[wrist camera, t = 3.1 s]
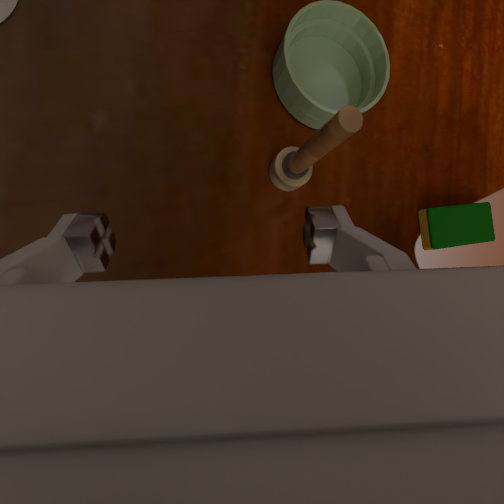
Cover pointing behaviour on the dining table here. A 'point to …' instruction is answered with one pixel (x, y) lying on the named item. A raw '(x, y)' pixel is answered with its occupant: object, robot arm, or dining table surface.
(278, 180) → the wooden dowel stand
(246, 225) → the dining table surface
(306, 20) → the bowl
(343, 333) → the robot arm
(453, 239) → the dish sponge
